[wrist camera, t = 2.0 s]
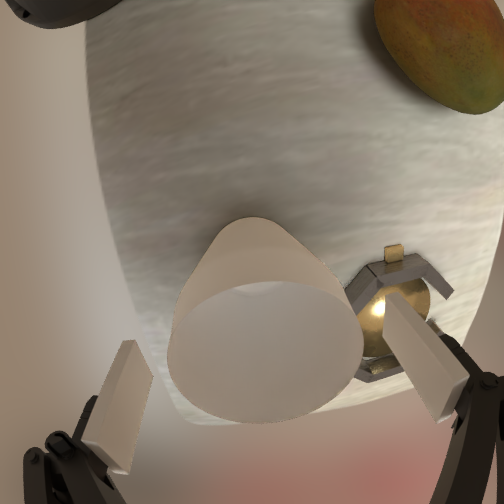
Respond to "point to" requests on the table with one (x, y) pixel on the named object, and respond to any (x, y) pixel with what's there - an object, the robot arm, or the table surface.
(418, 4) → the fruit
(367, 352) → the socket
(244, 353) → the cup
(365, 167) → the table surface
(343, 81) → the table surface
